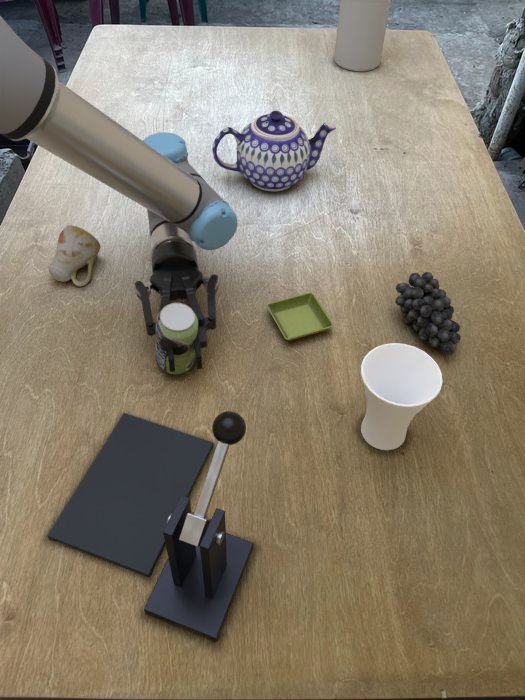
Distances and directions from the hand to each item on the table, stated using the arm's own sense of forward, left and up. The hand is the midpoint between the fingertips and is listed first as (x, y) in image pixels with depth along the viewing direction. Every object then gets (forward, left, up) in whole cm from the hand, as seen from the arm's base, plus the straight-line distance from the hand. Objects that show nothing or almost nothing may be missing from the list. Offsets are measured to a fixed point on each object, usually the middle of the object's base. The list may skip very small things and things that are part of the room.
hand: (185, 364), depth 89 cm
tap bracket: (+13, -25, -7) cm, 29 cm away
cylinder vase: (-4, +118, -7) cm, 118 cm away
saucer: (+11, +20, -7) cm, 24 cm away
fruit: (+31, +26, -7) cm, 41 cm away
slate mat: (0, -17, -7) cm, 19 cm away
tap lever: (+13, -20, +9) cm, 25 cm away
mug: (-30, +18, -7) cm, 35 cm away
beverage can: (-4, +4, -7) cm, 9 cm away
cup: (+29, +4, -7) cm, 30 cm away
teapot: (-7, +58, -7) cm, 58 cm away
